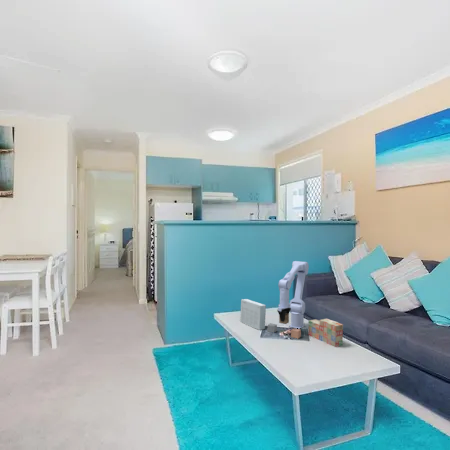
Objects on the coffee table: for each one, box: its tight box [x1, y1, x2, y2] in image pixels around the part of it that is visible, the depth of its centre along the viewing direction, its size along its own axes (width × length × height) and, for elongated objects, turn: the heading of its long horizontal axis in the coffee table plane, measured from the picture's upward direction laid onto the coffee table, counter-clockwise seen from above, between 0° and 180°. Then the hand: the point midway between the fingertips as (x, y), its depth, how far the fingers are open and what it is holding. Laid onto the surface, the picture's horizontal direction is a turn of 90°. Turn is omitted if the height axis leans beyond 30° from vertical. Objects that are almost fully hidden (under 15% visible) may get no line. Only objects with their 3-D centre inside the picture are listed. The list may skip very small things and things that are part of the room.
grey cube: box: [266, 323, 278, 334], centre depth 203 cm, size 4×4×4 cm
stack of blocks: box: [308, 318, 344, 348], centre depth 190 cm, size 21×6×12 cm, turn 30°
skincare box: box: [239, 298, 267, 331], centre depth 215 cm, size 21×5×16 cm, turn 34°
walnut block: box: [278, 313, 290, 325], centre depth 199 cm, size 4×4×6 cm
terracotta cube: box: [290, 327, 302, 340], centre depth 194 cm, size 4×4×4 cm
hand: (284, 320), depth 199 cm, fingers closed on walnut block, 4 cm apart
